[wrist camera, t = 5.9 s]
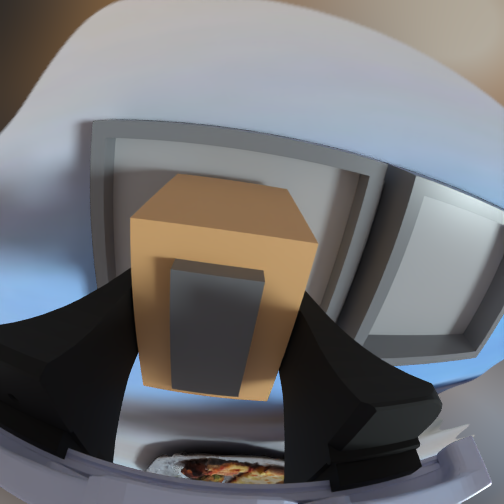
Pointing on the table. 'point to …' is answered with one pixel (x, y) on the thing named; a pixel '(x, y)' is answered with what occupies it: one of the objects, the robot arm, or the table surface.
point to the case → (427, 273)
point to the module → (217, 284)
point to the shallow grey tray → (237, 169)
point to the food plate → (222, 468)
